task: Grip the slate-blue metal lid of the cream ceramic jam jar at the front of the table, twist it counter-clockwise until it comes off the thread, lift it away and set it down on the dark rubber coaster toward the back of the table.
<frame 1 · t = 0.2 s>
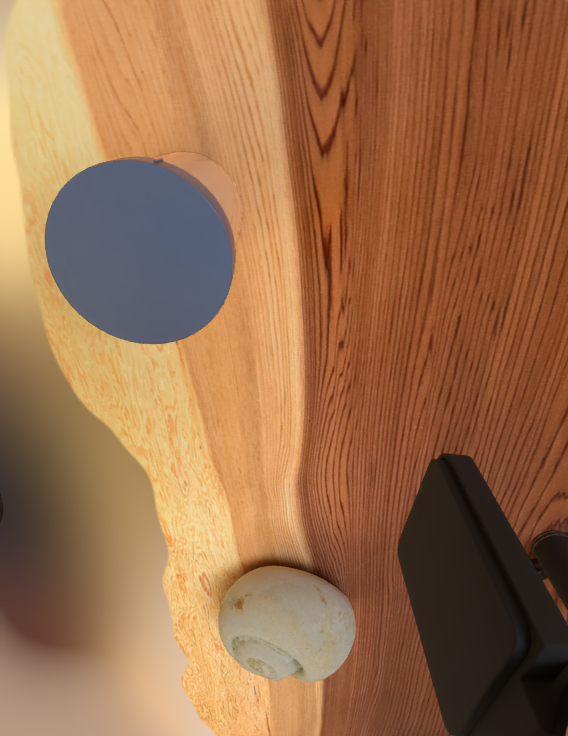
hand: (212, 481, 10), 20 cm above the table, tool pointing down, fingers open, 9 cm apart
seashell: (288, 585, 43), on the table
jar lid: (142, 259, 17), point 10 cm above the table, screwed on, not yet turned
jar: (188, 211, 26), on the table
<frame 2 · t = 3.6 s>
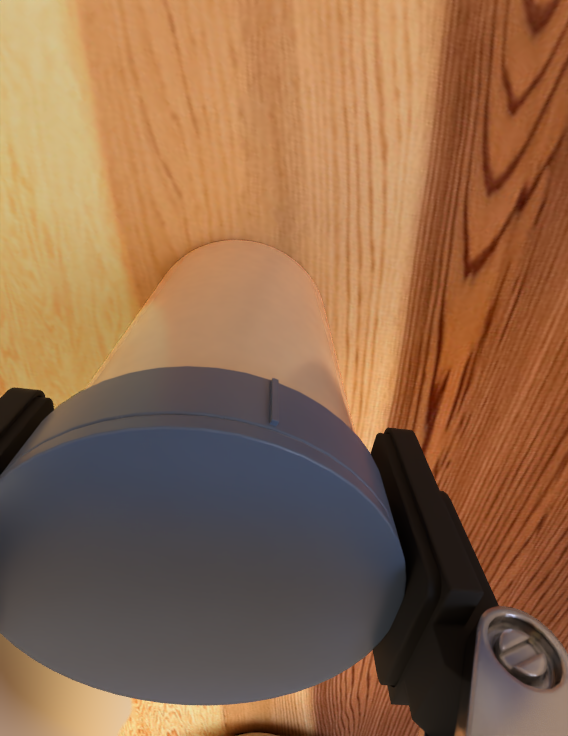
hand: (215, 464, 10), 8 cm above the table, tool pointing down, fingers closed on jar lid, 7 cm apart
jar lid: (194, 583, 7), point 10 cm above the table, screwed on, not yet turned, touching gripper
jar: (240, 326, 17), on the table
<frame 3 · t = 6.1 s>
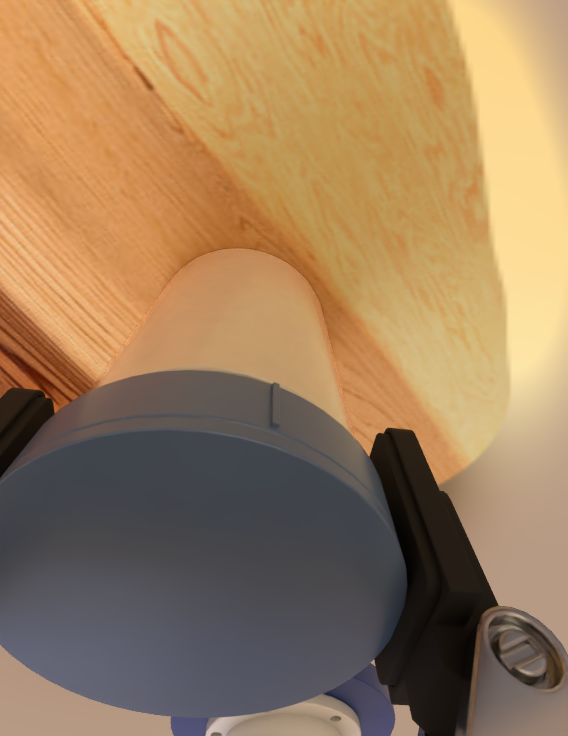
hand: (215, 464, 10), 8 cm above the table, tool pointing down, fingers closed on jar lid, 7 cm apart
jar lid: (193, 589, 7), point 11 cm above the table, turned 143° so far, risen 0.4 cm, still on its thread, touching gripper
jar: (241, 332, 17), on the table
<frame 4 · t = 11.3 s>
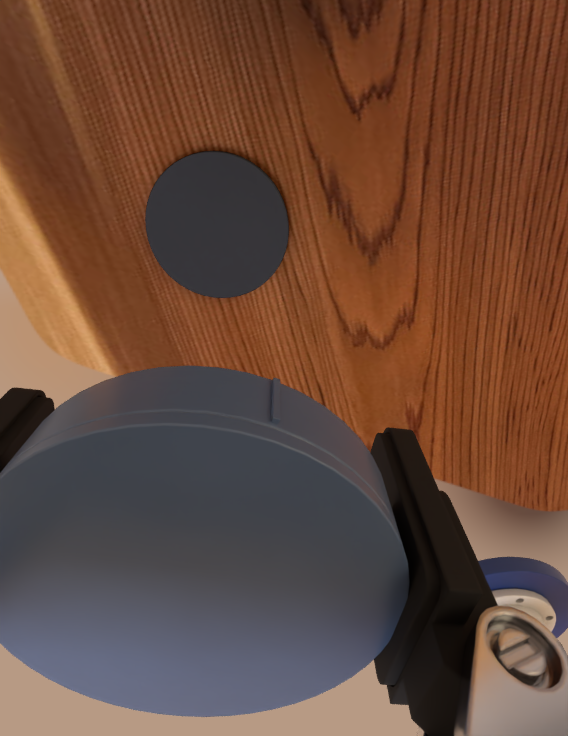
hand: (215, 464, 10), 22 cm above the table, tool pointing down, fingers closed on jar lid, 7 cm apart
coaster: (218, 228, 29), on the table
jar lid: (193, 587, 7), point 25 cm above the table, off its thread, touching gripper
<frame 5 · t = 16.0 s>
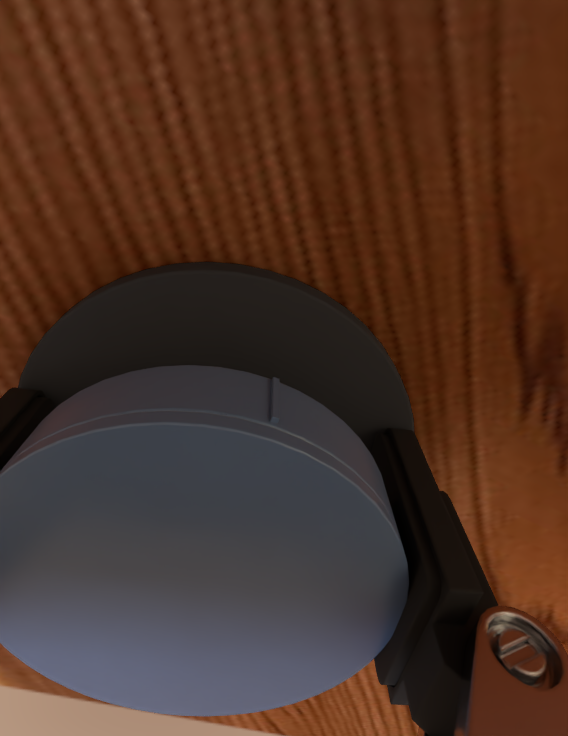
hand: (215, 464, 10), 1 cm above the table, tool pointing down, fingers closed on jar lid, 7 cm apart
coaster: (221, 445, 11), on the table
jar lid: (193, 586, 7), point 4 cm above the table, off its thread, touching gripper
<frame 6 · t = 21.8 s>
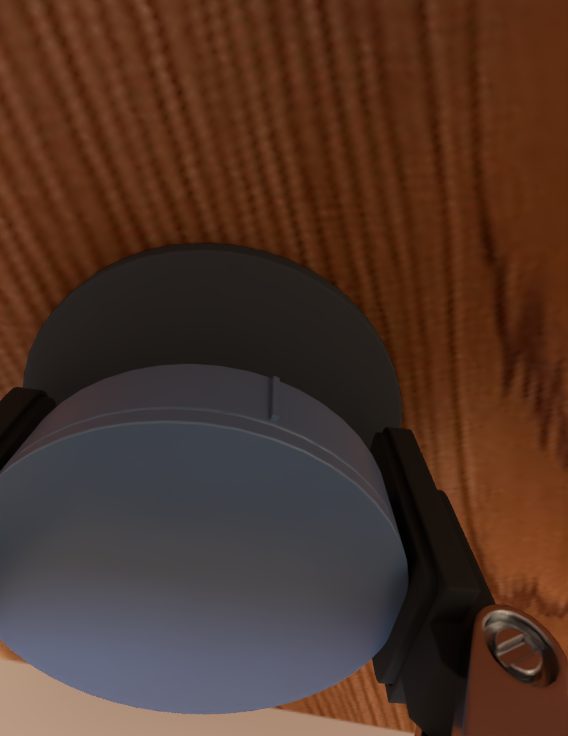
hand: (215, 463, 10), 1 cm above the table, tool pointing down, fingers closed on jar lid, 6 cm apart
coaster: (219, 420, 11), on the table
jar lid: (193, 584, 7), point 5 cm above the table, off its thread, touching gripper
when the fingers open (2 cm above the table, at t = 27.3 s): jar lid drops 3 cm, resting on coaster.
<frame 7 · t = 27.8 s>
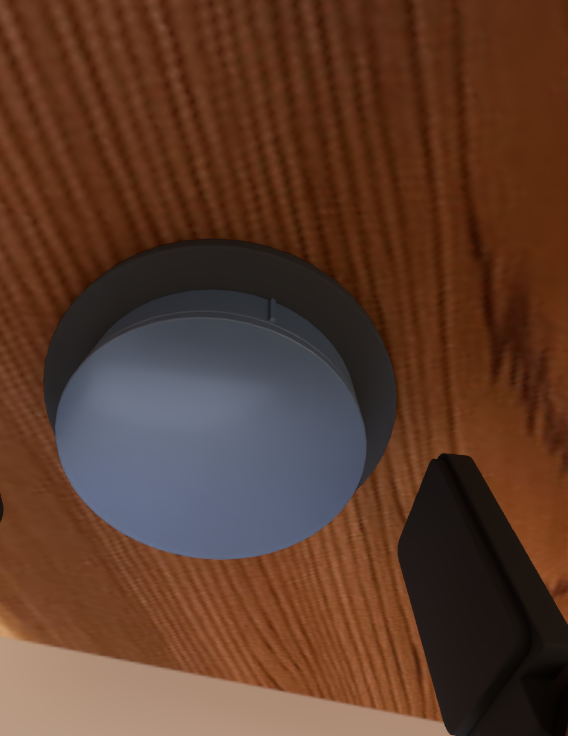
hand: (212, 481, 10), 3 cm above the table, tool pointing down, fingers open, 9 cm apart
coaster: (225, 406, 12), on the table
jar lid: (215, 450, 10), point 2 cm above the table, off its thread, touching coaster
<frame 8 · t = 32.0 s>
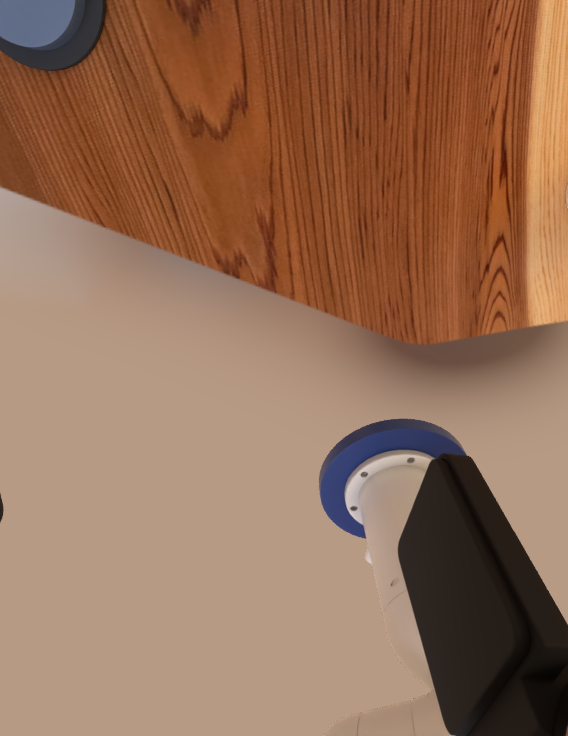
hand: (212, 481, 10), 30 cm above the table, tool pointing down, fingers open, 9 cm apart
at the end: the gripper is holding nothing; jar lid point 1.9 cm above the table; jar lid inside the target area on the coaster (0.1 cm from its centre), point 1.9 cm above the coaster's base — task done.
